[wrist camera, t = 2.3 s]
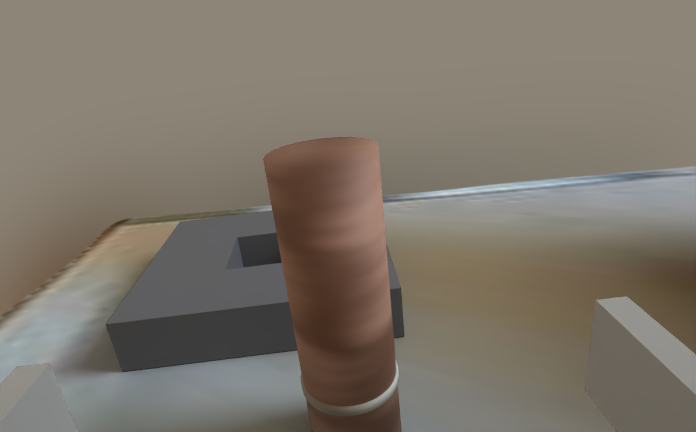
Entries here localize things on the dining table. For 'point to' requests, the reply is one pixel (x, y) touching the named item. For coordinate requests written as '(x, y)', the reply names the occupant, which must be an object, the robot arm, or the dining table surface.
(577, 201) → the dining table surface
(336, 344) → the peg
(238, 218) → the board
